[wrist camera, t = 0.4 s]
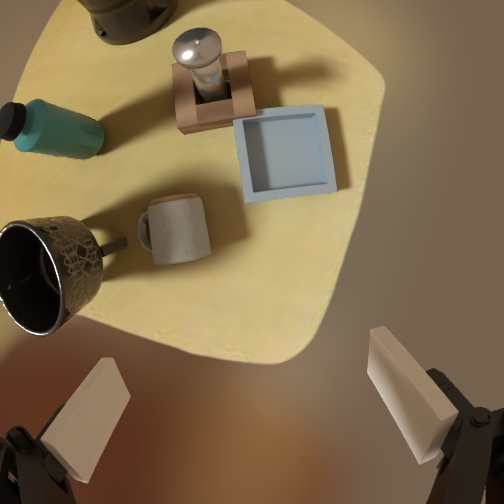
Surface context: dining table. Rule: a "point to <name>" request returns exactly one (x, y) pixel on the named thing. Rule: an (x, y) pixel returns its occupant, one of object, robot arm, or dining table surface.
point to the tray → (284, 153)
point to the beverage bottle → (50, 130)
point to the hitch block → (220, 112)
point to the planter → (49, 271)
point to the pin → (202, 61)
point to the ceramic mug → (175, 229)
